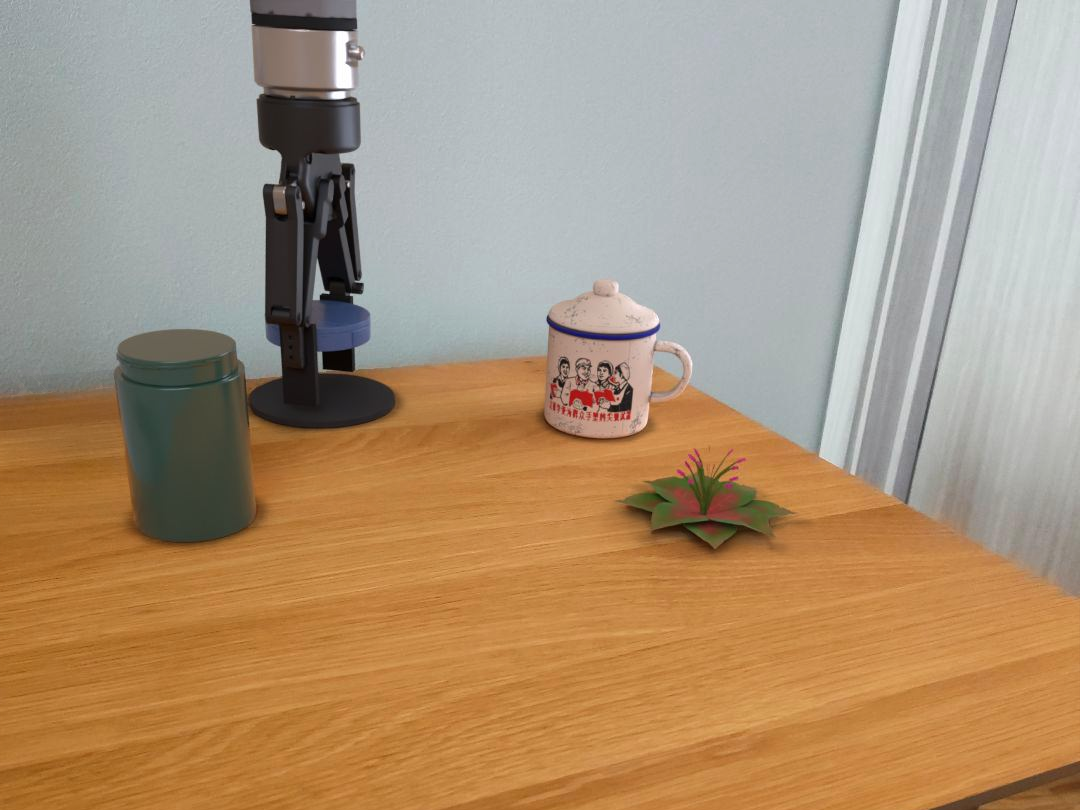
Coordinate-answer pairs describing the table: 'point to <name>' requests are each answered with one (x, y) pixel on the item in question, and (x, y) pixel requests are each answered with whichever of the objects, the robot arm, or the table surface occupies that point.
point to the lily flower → (706, 504)
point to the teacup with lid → (604, 364)
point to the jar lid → (333, 326)
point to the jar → (185, 434)
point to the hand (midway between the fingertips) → (321, 385)
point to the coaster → (326, 402)
